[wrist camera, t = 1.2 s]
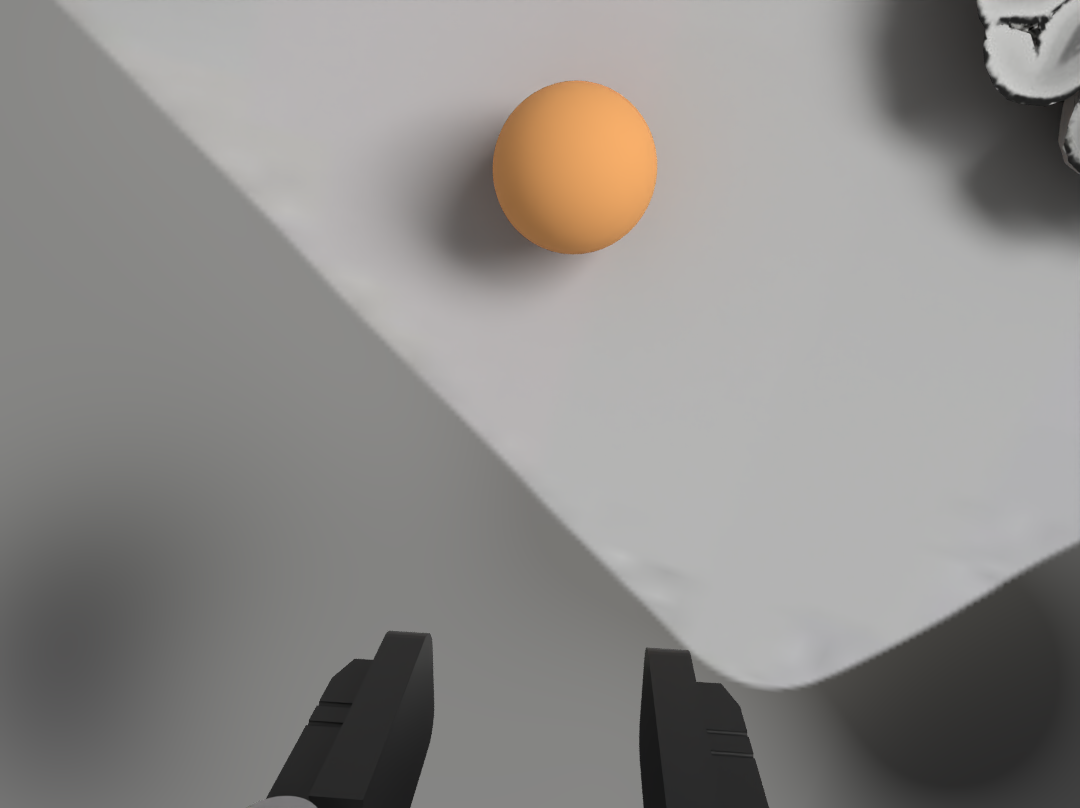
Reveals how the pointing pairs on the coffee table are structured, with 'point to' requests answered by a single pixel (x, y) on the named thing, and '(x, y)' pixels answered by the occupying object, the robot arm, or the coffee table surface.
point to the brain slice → (1037, 59)
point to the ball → (574, 167)
